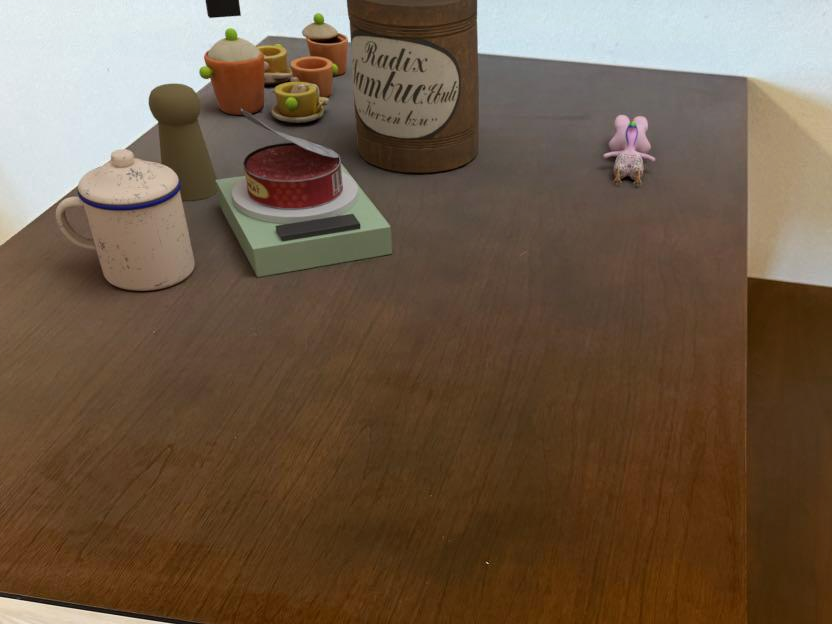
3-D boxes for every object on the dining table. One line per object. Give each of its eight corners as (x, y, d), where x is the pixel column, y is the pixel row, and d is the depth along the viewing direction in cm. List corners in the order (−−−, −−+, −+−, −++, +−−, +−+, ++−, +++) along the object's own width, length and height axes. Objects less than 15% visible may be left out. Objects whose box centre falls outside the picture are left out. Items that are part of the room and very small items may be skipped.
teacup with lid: (205, 249, 99) (182, 134, 91) (187, 294, 92) (161, 174, 84) (85, 248, 98) (52, 131, 90) (59, 293, 91) (19, 171, 83)
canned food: (262, 218, 106) (247, 121, 103) (354, 210, 106) (341, 112, 103) (235, 213, 95) (218, 104, 92) (337, 203, 95) (322, 93, 92)
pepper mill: (194, 173, 112) (175, 73, 104) (230, 187, 109) (213, 86, 102) (152, 190, 108) (128, 87, 101) (188, 205, 106) (167, 101, 98)
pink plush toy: (652, 198, 115) (654, 131, 124) (659, 152, 110) (660, 85, 119) (599, 194, 115) (605, 127, 124) (604, 148, 110) (610, 82, 119)
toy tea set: (318, 131, 122) (310, 50, 116) (199, 122, 123) (184, 40, 116) (364, 65, 141) (359, -8, 135) (260, 57, 142) (250, -16, 135)
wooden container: (338, 163, 115) (319, -47, 100) (385, 120, 126) (374, -76, 111) (455, 182, 113) (453, -31, 98) (493, 137, 123) (497, -62, 108)
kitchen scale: (220, 206, 106) (213, 172, 103) (343, 188, 110) (340, 155, 108) (257, 277, 95) (251, 241, 92) (392, 254, 99) (390, 218, 97)
